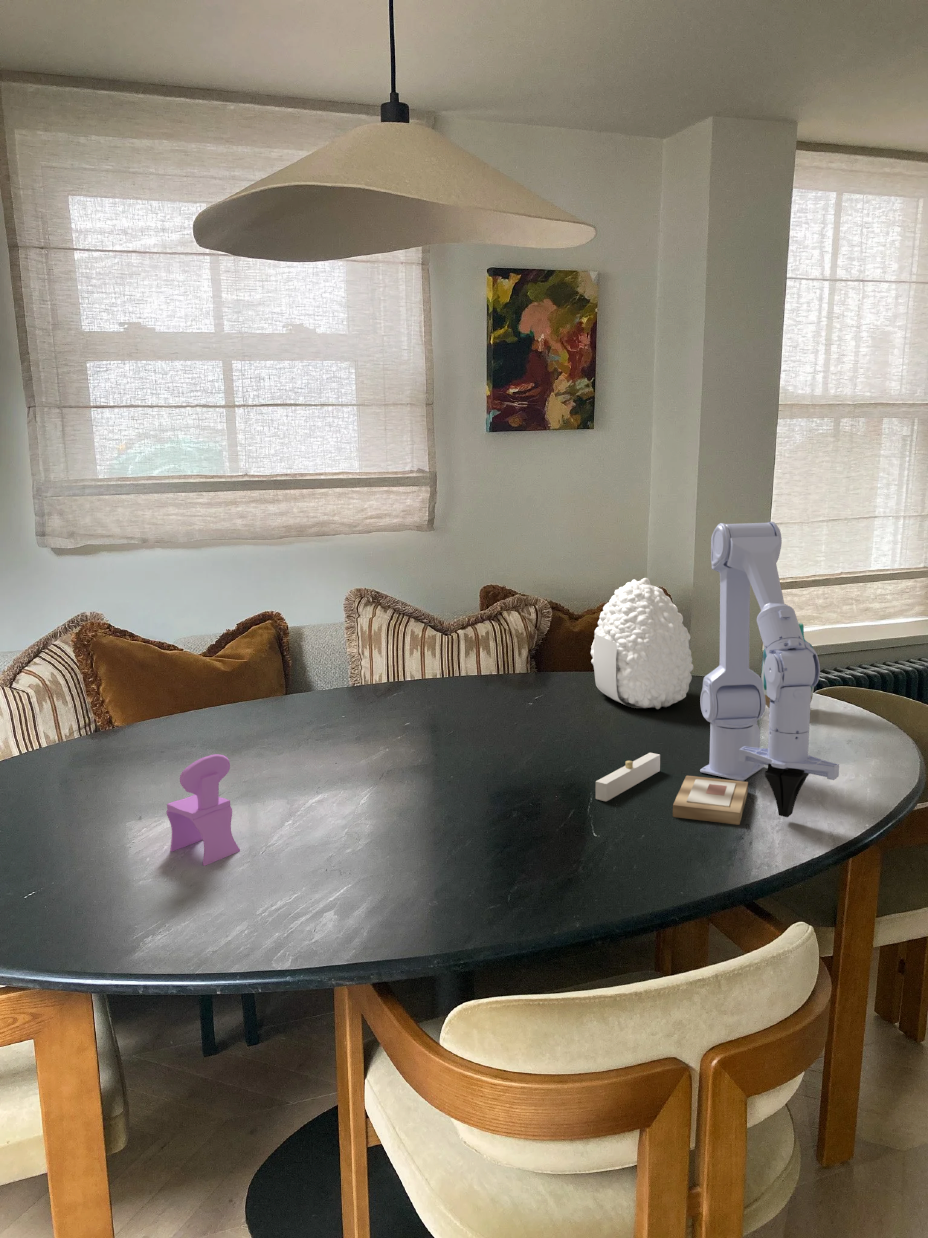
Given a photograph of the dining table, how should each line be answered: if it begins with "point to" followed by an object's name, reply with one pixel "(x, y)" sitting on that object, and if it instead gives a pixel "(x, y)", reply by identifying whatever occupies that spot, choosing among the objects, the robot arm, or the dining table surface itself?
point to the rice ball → (642, 648)
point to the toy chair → (203, 810)
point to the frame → (711, 800)
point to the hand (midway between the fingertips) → (785, 814)
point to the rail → (627, 776)
